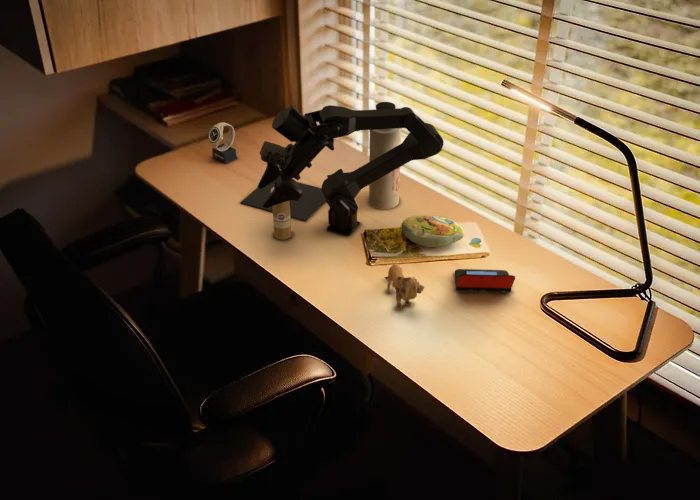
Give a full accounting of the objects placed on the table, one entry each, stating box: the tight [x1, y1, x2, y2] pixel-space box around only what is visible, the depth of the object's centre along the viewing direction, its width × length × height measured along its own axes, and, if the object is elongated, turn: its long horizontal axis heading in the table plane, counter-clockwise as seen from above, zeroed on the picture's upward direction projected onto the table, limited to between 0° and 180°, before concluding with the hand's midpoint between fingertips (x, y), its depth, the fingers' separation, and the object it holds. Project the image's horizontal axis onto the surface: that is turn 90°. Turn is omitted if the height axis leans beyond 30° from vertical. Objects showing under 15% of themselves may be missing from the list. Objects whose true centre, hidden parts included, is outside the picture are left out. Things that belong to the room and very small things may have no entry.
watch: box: [207, 121, 238, 165], centre depth 229 cm, size 6×8×11 cm
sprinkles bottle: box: [271, 187, 293, 241], centre depth 195 cm, size 5×5×14 cm
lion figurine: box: [384, 263, 425, 311], centre depth 176 cm, size 15×5×9 cm, turn 25°
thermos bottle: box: [368, 101, 402, 210], centre depth 204 cm, size 8×8×28 cm
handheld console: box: [454, 268, 516, 293], centre depth 179 cm, size 12×11×7 cm
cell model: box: [400, 214, 465, 248], centre depth 195 cm, size 11×8×15 cm
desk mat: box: [240, 179, 327, 222], centre depth 214 cm, size 20×16×1 cm
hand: (261, 197), depth 191 cm, fingers open, 9 cm apart
